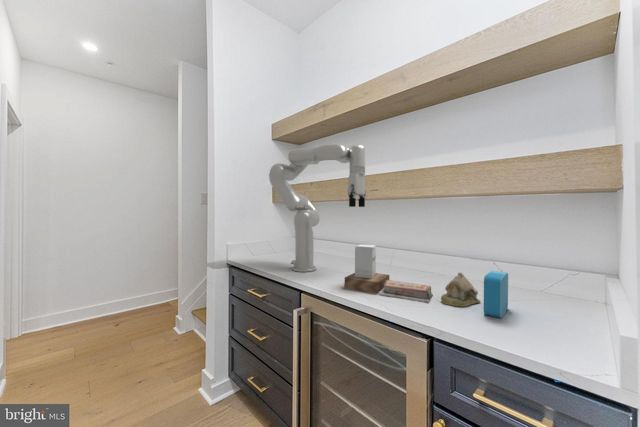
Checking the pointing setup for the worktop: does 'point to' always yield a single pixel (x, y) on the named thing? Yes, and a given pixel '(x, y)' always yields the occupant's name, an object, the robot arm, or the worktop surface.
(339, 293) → the worktop surface
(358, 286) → the walnut block
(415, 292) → the packaged product
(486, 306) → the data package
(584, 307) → the worktop surface
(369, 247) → the supplement box
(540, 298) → the worktop surface
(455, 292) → the ceramic model
